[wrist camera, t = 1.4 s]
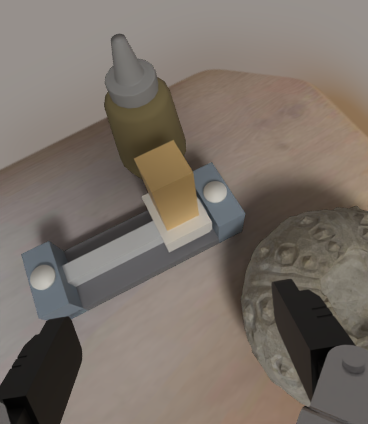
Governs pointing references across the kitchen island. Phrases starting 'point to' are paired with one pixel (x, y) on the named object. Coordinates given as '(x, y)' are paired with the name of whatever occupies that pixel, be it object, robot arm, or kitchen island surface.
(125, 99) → the squeeze bottle
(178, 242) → the carriage
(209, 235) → the rail bed
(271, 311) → the decorative shell
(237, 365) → the kitchen island surface
